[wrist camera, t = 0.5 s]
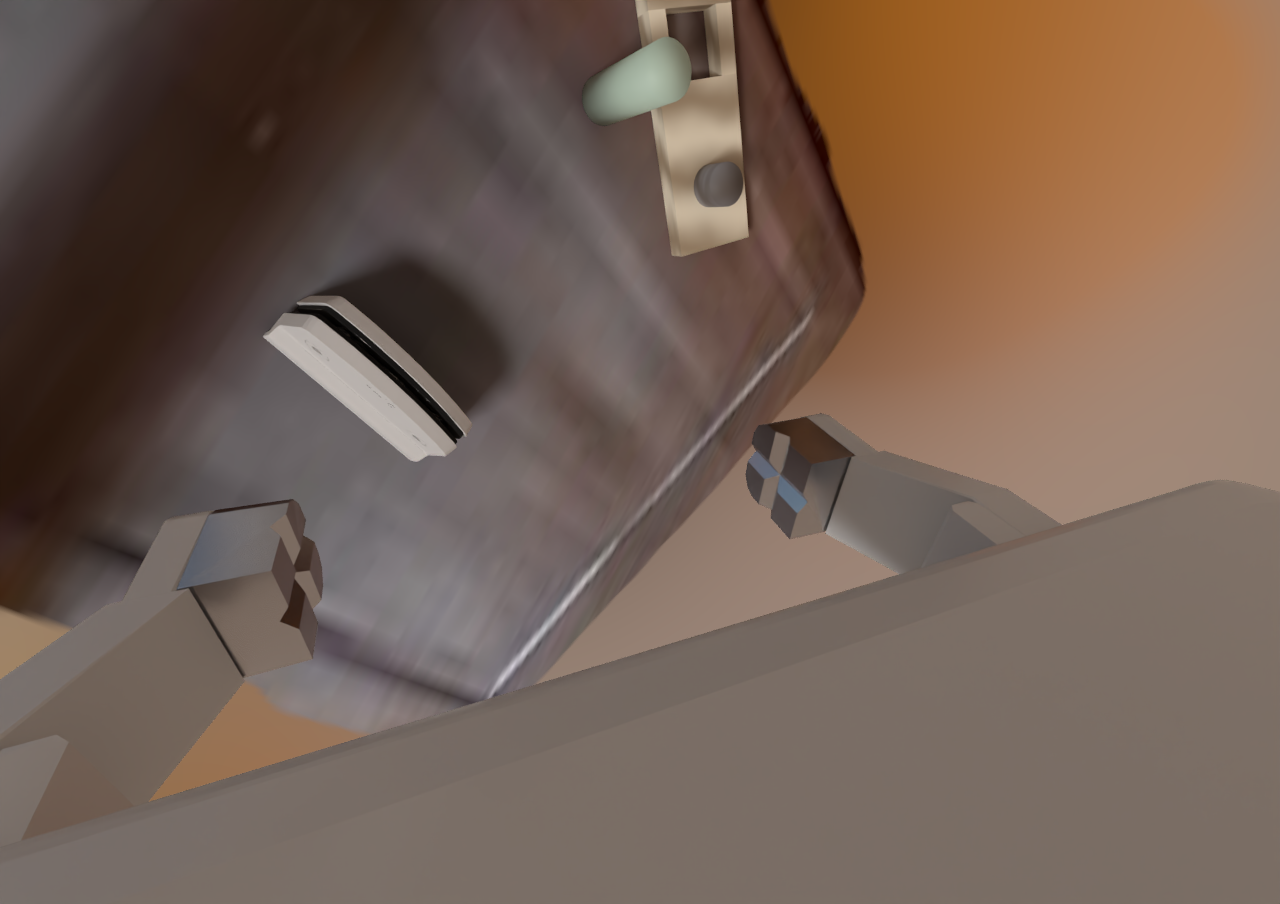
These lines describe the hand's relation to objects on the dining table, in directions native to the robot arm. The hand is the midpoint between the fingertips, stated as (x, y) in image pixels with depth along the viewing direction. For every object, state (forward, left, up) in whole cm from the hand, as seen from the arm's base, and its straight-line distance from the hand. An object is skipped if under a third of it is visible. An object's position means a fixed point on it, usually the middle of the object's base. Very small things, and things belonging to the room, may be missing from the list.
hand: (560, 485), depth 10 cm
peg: (-10, +24, -44) cm, 51 cm away
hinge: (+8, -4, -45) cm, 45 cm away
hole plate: (-7, +33, -44) cm, 56 cm away
